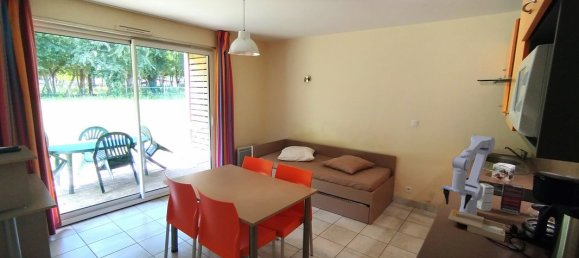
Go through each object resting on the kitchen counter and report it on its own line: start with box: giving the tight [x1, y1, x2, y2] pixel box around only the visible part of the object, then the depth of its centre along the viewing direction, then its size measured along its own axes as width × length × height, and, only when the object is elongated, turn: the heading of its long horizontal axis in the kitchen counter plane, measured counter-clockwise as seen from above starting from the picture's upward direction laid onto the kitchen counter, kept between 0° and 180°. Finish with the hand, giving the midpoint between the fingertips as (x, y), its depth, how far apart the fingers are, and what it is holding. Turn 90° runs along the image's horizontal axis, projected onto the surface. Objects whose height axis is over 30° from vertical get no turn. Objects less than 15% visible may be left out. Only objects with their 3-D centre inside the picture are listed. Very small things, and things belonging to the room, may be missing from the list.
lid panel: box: [447, 207, 485, 229], centre depth 134 cm, size 14×14×4 cm
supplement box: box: [499, 182, 524, 216], centre depth 150 cm, size 9×5×16 cm, turn 54°
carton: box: [466, 218, 506, 243], centre depth 129 cm, size 14×14×3 cm
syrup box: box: [476, 182, 495, 212], centre depth 153 cm, size 6×6×14 cm
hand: (455, 206), depth 136 cm, fingers open, 7 cm apart
